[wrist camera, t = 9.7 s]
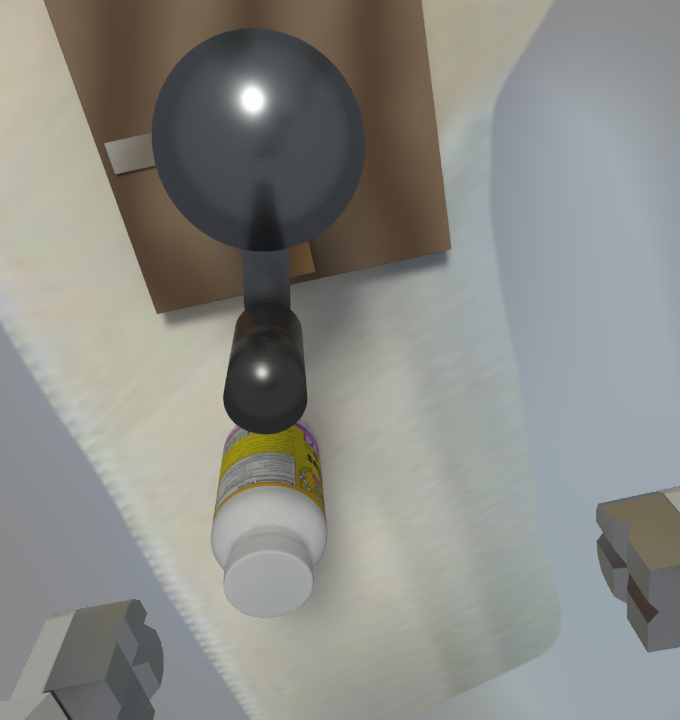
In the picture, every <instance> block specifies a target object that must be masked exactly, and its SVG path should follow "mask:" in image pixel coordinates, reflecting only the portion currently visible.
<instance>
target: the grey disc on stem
mask: <svg viewBox="0 0 680 720" xmlns="http://www.w3.org/2000/svg"><path fill="white" fill-rule="evenodd" d="M151 135H152V150H153V155H154V161H155V165H156V168H157V171H158V175H159V177H160V180H161V182H162V184H163V186H164V189H165V191H166V192H167V194H168V196H169V197H170V199H171V201H172V202H173V204H174V205H175V206H176V207H177V209H178V210H179V211H180V212H181V214H182V215H183V216H184V217H185V218H186V219H187V220H188V221H189V222H190V223H191V224H192V225H194V226H195V227H196V228H198V229H199V230H200V231H201V232H203V233H204V234H206V235H208V236H209V237H211V238H213V239H214V240H217V241H219V242H221V243H223V244H225V245H228V246H232V247H235V248H238V249H241V255H242V272H243V289H244V307H245V311H244V312H243V313H242V314H241V315H240V317H239V318H238V320H237V322H236V326H235V331H234V337H233V343H232V348H231V354H230V360H229V366H228V371H227V377H226V383H225V389H224V395H223V401H224V406H225V410H226V412H227V414H228V416H229V417H230V418H231V420H232V421H233V422H234V423H235V424H236V425H238V426H239V427H241V428H242V429H244V430H246V431H249V432H251V433H255V434H262V435H268V434H275V433H279V432H282V431H285V430H287V429H289V428H290V427H292V426H293V425H294V424H296V423H297V422H298V421H299V419H300V418H301V417H302V415H303V413H304V411H305V409H306V405H307V388H306V376H305V363H304V350H303V338H302V328H301V324H300V321H299V319H298V318H297V316H296V315H295V314H294V313H293V312H292V311H291V310H290V269H289V248H292V247H295V246H298V245H301V244H303V243H305V242H307V241H309V240H311V239H313V238H315V237H316V236H318V235H319V234H321V233H322V232H324V231H325V230H326V229H327V228H328V227H330V226H331V225H332V224H333V223H334V222H335V221H336V220H337V219H338V218H339V216H340V215H341V214H342V213H343V212H344V210H345V209H346V207H347V206H348V204H349V203H350V201H351V199H352V197H353V195H354V193H355V191H356V189H357V186H358V184H359V181H360V178H361V174H362V170H363V165H364V158H365V132H364V125H363V119H362V116H361V112H360V109H359V105H358V103H357V101H356V98H355V96H354V94H353V91H352V90H351V88H350V86H349V85H348V83H347V81H346V79H345V78H344V77H343V75H342V74H341V73H340V71H339V70H338V69H337V67H336V66H335V65H334V64H333V63H332V62H331V61H330V60H329V59H328V58H327V57H326V56H325V55H323V54H322V53H321V52H320V51H318V50H317V49H316V48H314V47H313V46H311V45H310V44H308V43H306V42H304V41H303V40H301V39H299V38H296V37H294V36H291V35H289V34H286V33H283V32H279V31H275V30H271V29H261V28H246V29H237V30H232V31H227V32H224V33H221V34H219V35H216V36H213V37H211V38H209V39H207V40H205V41H204V42H202V43H200V44H198V45H197V46H196V47H194V48H193V49H192V50H190V51H189V52H188V53H187V54H186V55H185V56H184V57H183V58H182V59H181V60H180V61H179V62H178V63H177V64H176V65H175V67H174V68H173V69H172V71H171V72H170V74H169V75H168V76H167V78H166V80H165V82H164V84H163V86H162V88H161V90H160V93H159V96H158V98H157V101H156V104H155V109H154V114H153V119H152V132H151Z"/></svg>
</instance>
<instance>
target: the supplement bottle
mask: <svg viewBox="0 0 680 720" xmlns="http://www.w3.org/2000/svg"><path fill="white" fill-rule="evenodd" d="M326 542H327V526H326V517H325V507H324V497H323V486H322V476H321V466H320V457H319V450H318V444H317V441H316V438H315V436H314V435H313V433H312V431H311V430H310V429H309V428H308V427H307V426H306V425H305V424H304V423H303V422H302V421H300V420H299V421H298V422H297V423H296V424H294V425H293V426H292V427H290V428H289V429H287V430H285V431H282V432H279V433H275V434H268V435H262V434H255V433H251V432H249V431H246V430H244V429H242V428H241V427H239V426H238V425H236V426H235V427H234V429H233V430H232V431H231V432H230V434H229V436H228V437H227V440H226V442H225V445H224V451H223V457H222V464H221V471H220V478H219V485H218V491H217V499H216V505H215V512H214V518H213V525H212V532H211V545H212V550H213V553H214V556H215V558H216V560H217V562H218V563H219V565H220V566H221V567H222V569H223V570H224V592H225V595H226V597H227V599H228V601H229V602H230V603H231V604H232V605H233V606H234V607H235V608H236V609H238V610H239V611H241V612H243V613H245V614H247V615H251V616H255V617H262V618H270V617H277V616H282V615H285V614H288V613H290V612H293V611H294V610H296V609H298V608H299V607H300V606H302V605H303V604H304V603H305V602H306V600H307V599H308V598H309V596H310V594H311V592H312V589H313V568H314V567H315V566H316V565H317V563H318V562H319V560H320V559H321V557H322V555H323V552H324V550H325V547H326Z"/></svg>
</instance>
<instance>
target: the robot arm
mask: <svg viewBox="0 0 680 720" xmlns="http://www.w3.org/2000/svg"><path fill="white" fill-rule="evenodd" d="M596 522H597V523H598V525H599V527H600V528H601V530H602V532H603V534H602V535H601V536H600V538H599V539H598V540H597V552H598V559H599V563H600V567H601V571H602V573H603V576H604V578H605V580H606V583H607V585H608V586H609V588H610V590H611V592H612V593H613V595H614V596H615V597H616V598H618V599H620V600H621V601H623V602H625V603H627V619H628V621H629V622H630V624H631V626H632V627H633V629H634V631H635V632H636V634H637V635H638V637H639V639H640V640H641V642H642V644H643V645H644V647H645V649H646V650H647V652H653V651H659V650H665V649H671V648H677V647H680V486H678V487H673V488H669V489H664V490H660V491H657V492H651V493H647V494H642V495H637V496H633V497H628V498H623V499H619V500H614V501H609V502H605V503H600V504H598V506H597V509H596ZM146 615H147V612H146V610H145V609H144V607H143V605H142V604H141V602H140V600H136V599H131V600H126V601H120V602H114V603H109V604H103V605H98V606H92V607H86V608H81V609H79V610H73V611H67V612H63V613H56V614H53V615H52V616H50V617H49V618H48V619H47V620H46V622H45V623H44V626H43V628H42V630H41V632H40V634H39V637H38V639H37V641H36V643H35V646H34V648H33V650H32V652H31V655H30V657H29V659H28V661H27V663H26V665H25V668H24V670H23V672H22V674H21V676H20V679H19V681H18V683H17V685H16V687H15V690H14V692H13V694H12V696H11V698H10V700H7V701H3V702H1V703H0V720H153V718H154V713H155V710H154V708H153V707H152V705H151V703H150V701H149V700H150V699H151V697H152V696H153V695H154V694H155V692H156V691H157V690H158V689H159V688H160V686H161V680H162V676H163V670H164V668H163V650H162V645H161V641H160V639H159V637H158V634H157V632H156V630H154V629H152V628H150V627H148V626H147V625H145V624H144V622H145V618H146Z"/></svg>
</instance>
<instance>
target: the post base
mask: <svg viewBox="0 0 680 720" xmlns="http://www.w3.org/2000/svg"><path fill="white" fill-rule="evenodd" d="M44 2H45V5H46V8H47V11H48V13H49V16H50V19H51V22H52V25H53V27H54V30H55V33H56V36H57V38H58V41H59V44H60V47H61V49H62V52H63V55H64V58H65V61H66V63H67V66H68V69H69V72H70V74H71V77H72V80H73V83H74V85H75V88H76V91H77V94H78V96H79V99H80V102H81V105H82V108H83V110H84V113H85V116H86V119H87V121H88V124H89V127H90V130H91V132H92V135H93V138H94V141H95V144H96V146H97V149H98V152H99V155H100V157H101V160H102V163H103V166H104V168H105V171H106V174H107V177H108V180H109V182H110V185H111V188H112V191H113V193H114V196H115V199H116V202H117V204H118V207H119V210H120V213H121V216H122V218H123V221H124V224H125V227H126V229H127V232H128V235H129V238H130V240H131V243H132V246H133V249H134V252H135V254H136V257H137V260H138V263H139V265H140V268H141V271H142V274H143V276H144V279H145V282H146V285H147V288H148V290H149V293H150V296H151V299H152V301H153V304H154V307H155V310H156V312H157V314H159V313H164V312H168V311H173V310H177V309H182V308H186V307H191V306H195V305H200V304H204V303H209V302H214V301H218V300H223V299H227V298H232V297H236V296H241V295H244V289H243V272H242V255H241V249H238V248H235V247H232V246H228V245H225V244H223V243H221V242H219V241H217V240H214V239H213V238H211V237H209V236H208V235H206V234H204V233H203V232H201V231H200V230H199V229H198V228H196V227H195V226H194V225H192V224H191V223H190V222H189V221H188V220H187V219H186V218H185V217H184V216H183V215H182V214H181V212H180V211H179V210H178V209H177V207H176V206H175V205H174V204H173V202H172V201H171V199H170V197H169V196H168V194H167V192H166V191H165V189H164V186H163V184H162V182H161V180H160V177H159V175H158V171H157V168H156V165H155V161H154V155H153V150H152V135H151V132H152V119H153V114H154V109H155V104H156V101H157V98H158V96H159V93H160V90H161V88H162V86H163V84H164V82H165V80H166V78H167V76H168V75H169V74H170V72H171V71H172V69H173V68H174V67H175V65H176V64H177V63H178V62H179V61H180V60H181V59H182V58H183V57H184V56H185V55H186V54H187V53H188V52H189V51H190V50H192V49H193V48H194V47H196V46H197V45H198V44H200V43H202V42H204V41H205V40H207V39H209V38H211V37H213V36H216V35H219V34H221V33H224V32H227V31H232V30H237V29H246V28H261V29H271V30H275V31H279V32H283V33H286V34H289V35H291V36H294V37H296V38H299V39H301V40H303V41H304V42H306V43H308V44H310V45H311V46H313V47H314V48H316V49H317V50H318V51H320V52H321V53H322V54H323V55H325V56H326V57H327V58H328V59H329V60H330V61H331V62H332V63H333V64H334V65H335V66H336V67H337V69H338V70H339V71H340V73H341V74H342V75H343V77H344V78H345V79H346V81H347V83H348V85H349V86H350V88H351V90H352V91H353V94H354V96H355V98H356V101H357V103H358V105H359V109H360V112H361V116H362V119H363V125H364V132H365V158H364V165H363V170H362V174H361V178H360V181H359V184H358V186H357V189H356V191H355V193H354V195H353V197H352V199H351V201H350V203H349V204H348V206H347V207H346V209H345V210H344V212H343V213H342V214H341V215H340V216H339V218H338V219H337V220H336V221H335V222H334V223H333V224H332V225H331V226H330V227H328V228H327V229H326V230H325V231H324V232H322V233H321V234H319V235H318V236H316V237H315V238H313V239H311V240H309V241H307V242H305V243H303V244H301V245H298V246H295V247H292V248H289V269H290V285H291V284H295V283H300V282H304V281H309V280H313V279H318V278H322V277H327V276H332V275H336V274H341V273H345V272H350V271H354V270H359V269H363V268H368V267H372V266H377V265H381V264H386V263H391V262H395V261H400V260H404V259H409V258H413V257H418V256H422V255H427V254H431V253H436V252H441V251H445V250H450V249H451V242H450V234H449V226H448V217H447V209H446V201H445V193H444V184H443V176H442V168H441V159H440V151H439V143H438V135H437V126H436V118H435V110H434V101H433V93H432V85H431V77H430V68H429V60H428V52H427V43H426V35H425V27H424V18H423V10H422V2H421V0H44Z"/></svg>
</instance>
